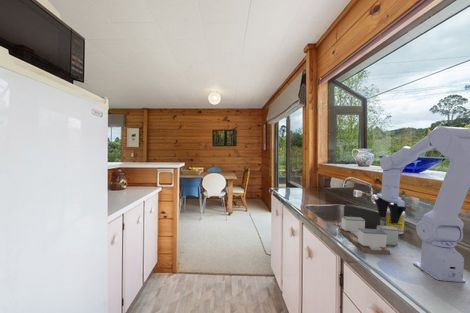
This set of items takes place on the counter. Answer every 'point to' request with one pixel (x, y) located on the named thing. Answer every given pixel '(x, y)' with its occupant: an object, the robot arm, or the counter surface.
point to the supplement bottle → (396, 225)
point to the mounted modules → (364, 232)
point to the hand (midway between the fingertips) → (388, 219)
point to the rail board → (368, 249)
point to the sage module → (390, 234)
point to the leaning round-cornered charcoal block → (363, 215)
